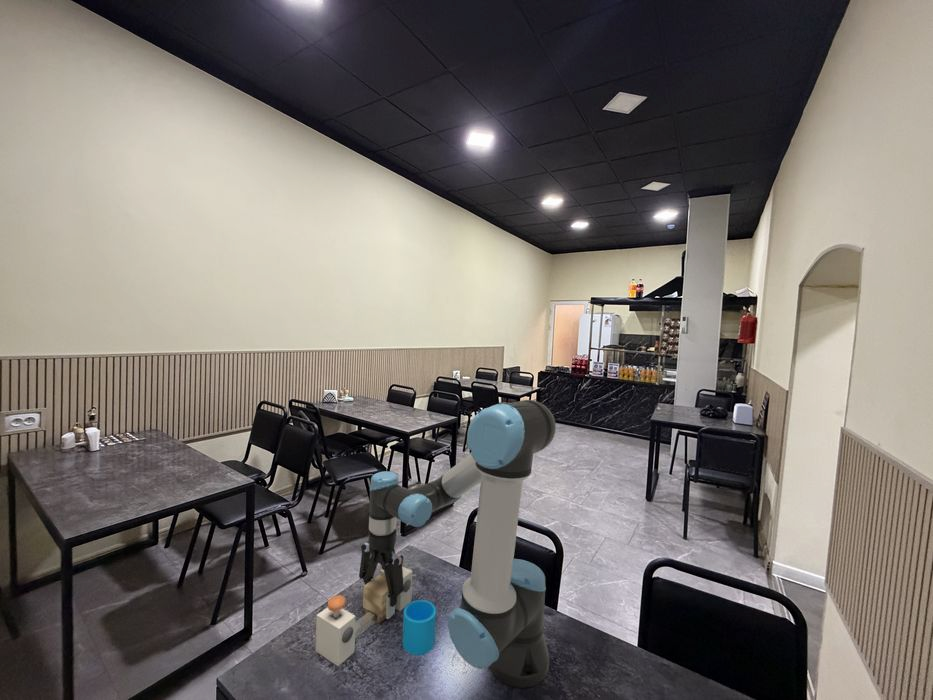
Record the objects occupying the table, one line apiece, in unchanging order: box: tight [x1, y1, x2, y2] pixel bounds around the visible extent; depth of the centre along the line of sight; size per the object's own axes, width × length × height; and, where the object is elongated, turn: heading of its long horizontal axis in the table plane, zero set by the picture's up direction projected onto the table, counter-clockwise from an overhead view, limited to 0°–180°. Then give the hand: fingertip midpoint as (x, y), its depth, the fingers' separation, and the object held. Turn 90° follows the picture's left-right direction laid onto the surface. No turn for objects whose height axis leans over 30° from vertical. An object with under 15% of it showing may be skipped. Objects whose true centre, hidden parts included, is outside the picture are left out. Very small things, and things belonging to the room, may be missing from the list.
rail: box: [355, 611, 377, 640], centre depth 103 cm, size 2×17×2 cm, turn 149°
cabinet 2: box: [379, 566, 413, 612], centre depth 113 cm, size 8×5×9 cm, turn 59°
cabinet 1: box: [315, 606, 357, 667], centre depth 94 cm, size 8×5×9 cm, turn 59°
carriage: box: [362, 574, 397, 624], centre depth 107 cm, size 7×6×8 cm
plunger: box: [327, 594, 346, 620], centre depth 94 cm, size 4×4×5 cm
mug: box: [402, 599, 437, 656], centre depth 100 cm, size 12×8×8 cm
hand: (379, 610), depth 107 cm, fingers closed on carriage, 7 cm apart
